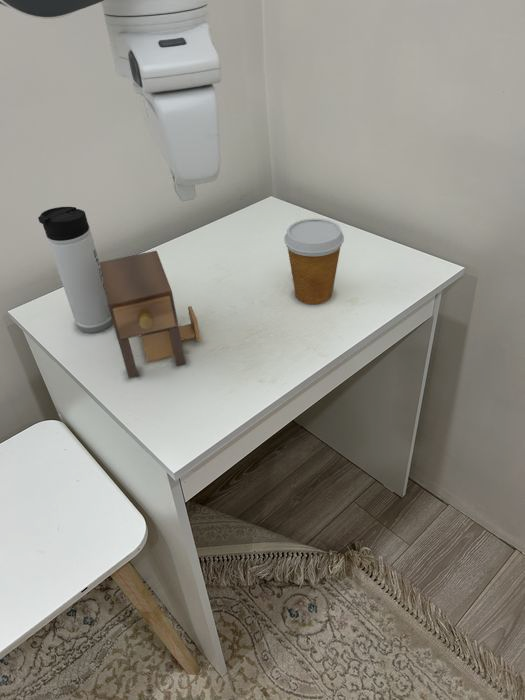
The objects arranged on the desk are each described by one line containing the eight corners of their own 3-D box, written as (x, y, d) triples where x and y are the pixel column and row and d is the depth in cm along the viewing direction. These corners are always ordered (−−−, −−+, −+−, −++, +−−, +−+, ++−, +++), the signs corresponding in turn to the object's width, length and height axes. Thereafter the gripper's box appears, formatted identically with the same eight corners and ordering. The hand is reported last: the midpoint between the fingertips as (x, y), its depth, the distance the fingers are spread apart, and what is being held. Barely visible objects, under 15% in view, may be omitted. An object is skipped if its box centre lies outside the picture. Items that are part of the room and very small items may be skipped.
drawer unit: (130, 386, 78) (109, 312, 70) (119, 332, 88) (99, 261, 80) (188, 371, 80) (174, 297, 71) (170, 320, 90) (156, 250, 82)
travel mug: (67, 325, 90) (28, 213, 78) (100, 307, 94) (67, 197, 81) (90, 339, 87) (52, 224, 74) (123, 319, 91) (92, 207, 78)
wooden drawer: (147, 362, 82) (141, 335, 78) (140, 335, 87) (134, 309, 84) (203, 349, 83) (199, 322, 80) (193, 323, 89) (188, 297, 86)
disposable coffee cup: (351, 288, 94) (354, 224, 87) (324, 316, 88) (325, 250, 81) (304, 274, 99) (303, 212, 91) (275, 300, 93) (272, 236, 85)
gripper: (113, 33, 55) (140, 167, 64) (143, 75, 40) (174, 243, 49) (174, 25, 57) (193, 158, 65) (226, 63, 41) (241, 229, 50)
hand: (185, 195), depth 57 cm, fingers closed
